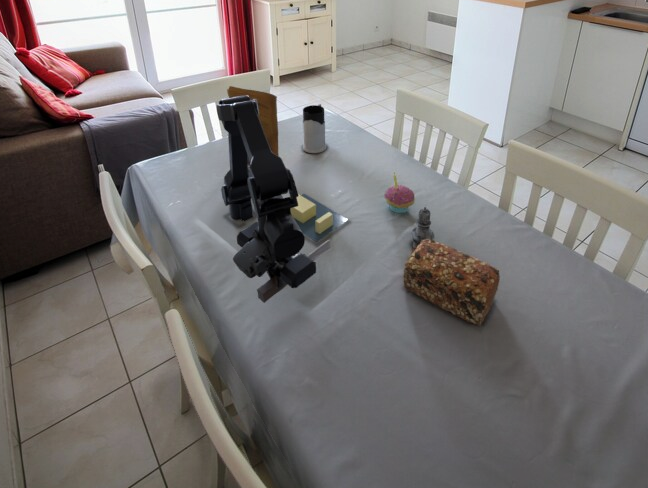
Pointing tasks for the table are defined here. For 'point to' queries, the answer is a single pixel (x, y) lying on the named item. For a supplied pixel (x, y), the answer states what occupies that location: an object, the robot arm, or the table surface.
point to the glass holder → (314, 129)
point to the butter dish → (321, 210)
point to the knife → (272, 287)
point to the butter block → (303, 209)
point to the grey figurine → (422, 228)
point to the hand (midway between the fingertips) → (277, 283)
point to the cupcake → (399, 197)
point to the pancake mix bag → (262, 113)
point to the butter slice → (324, 222)
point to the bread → (451, 280)
